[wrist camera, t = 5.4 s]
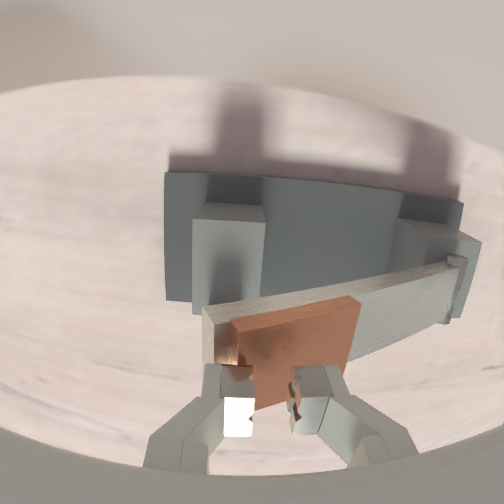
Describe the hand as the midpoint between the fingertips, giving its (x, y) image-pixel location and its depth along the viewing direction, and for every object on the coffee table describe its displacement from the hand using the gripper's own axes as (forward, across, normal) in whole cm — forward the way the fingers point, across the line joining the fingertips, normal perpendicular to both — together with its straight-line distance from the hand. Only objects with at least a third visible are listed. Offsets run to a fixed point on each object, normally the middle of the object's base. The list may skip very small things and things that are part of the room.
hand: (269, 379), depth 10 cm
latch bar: (+5, -5, 0) cm, 7 cm away
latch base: (+15, -6, 0) cm, 16 cm away
